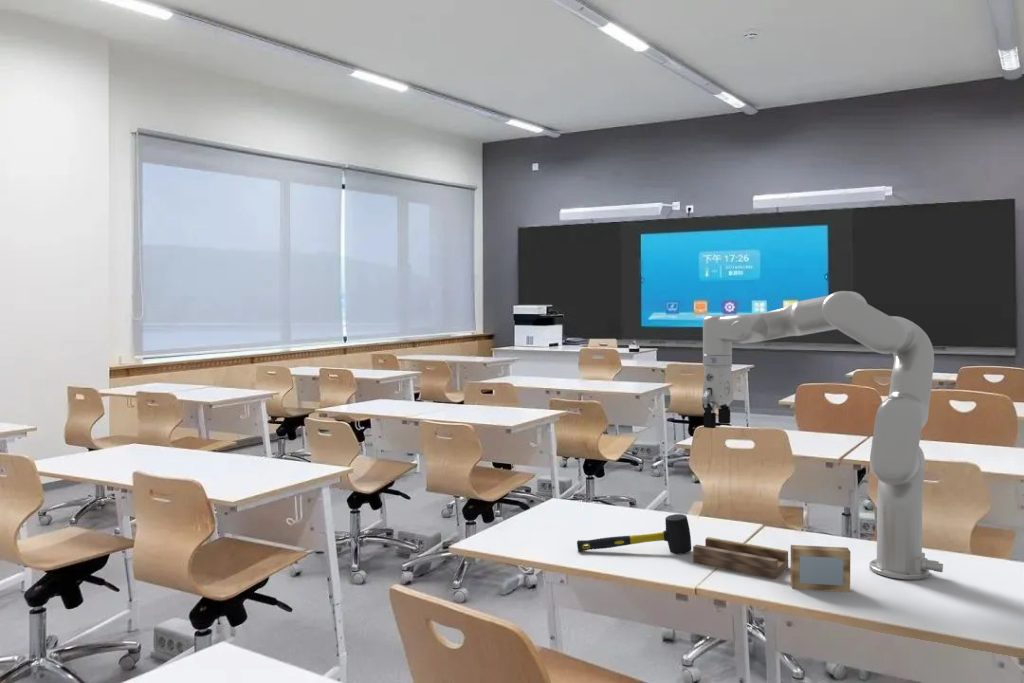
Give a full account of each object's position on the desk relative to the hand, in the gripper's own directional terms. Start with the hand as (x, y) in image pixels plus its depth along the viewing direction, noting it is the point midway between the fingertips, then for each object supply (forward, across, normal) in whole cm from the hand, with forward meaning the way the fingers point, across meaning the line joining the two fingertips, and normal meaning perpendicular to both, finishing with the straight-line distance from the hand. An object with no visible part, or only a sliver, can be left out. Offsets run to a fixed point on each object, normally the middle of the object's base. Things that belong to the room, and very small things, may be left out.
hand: (717, 425), depth 210 cm
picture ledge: (+31, -17, -13) cm, 37 cm away
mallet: (+31, -22, +13) cm, 40 cm away
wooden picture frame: (+31, -21, -33) cm, 50 cm away
